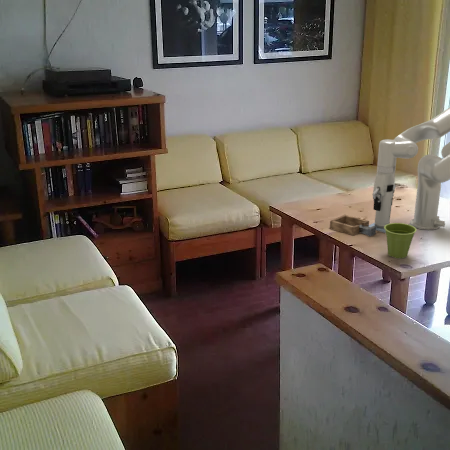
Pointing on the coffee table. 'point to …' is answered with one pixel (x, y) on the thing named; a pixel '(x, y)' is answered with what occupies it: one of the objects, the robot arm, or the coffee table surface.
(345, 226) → the wooden tray
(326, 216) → the coffee table surface
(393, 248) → the plant pot
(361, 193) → the coffee table surface
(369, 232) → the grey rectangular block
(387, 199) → the travel mug
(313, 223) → the coffee table surface
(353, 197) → the coffee table surface
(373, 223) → the pad
